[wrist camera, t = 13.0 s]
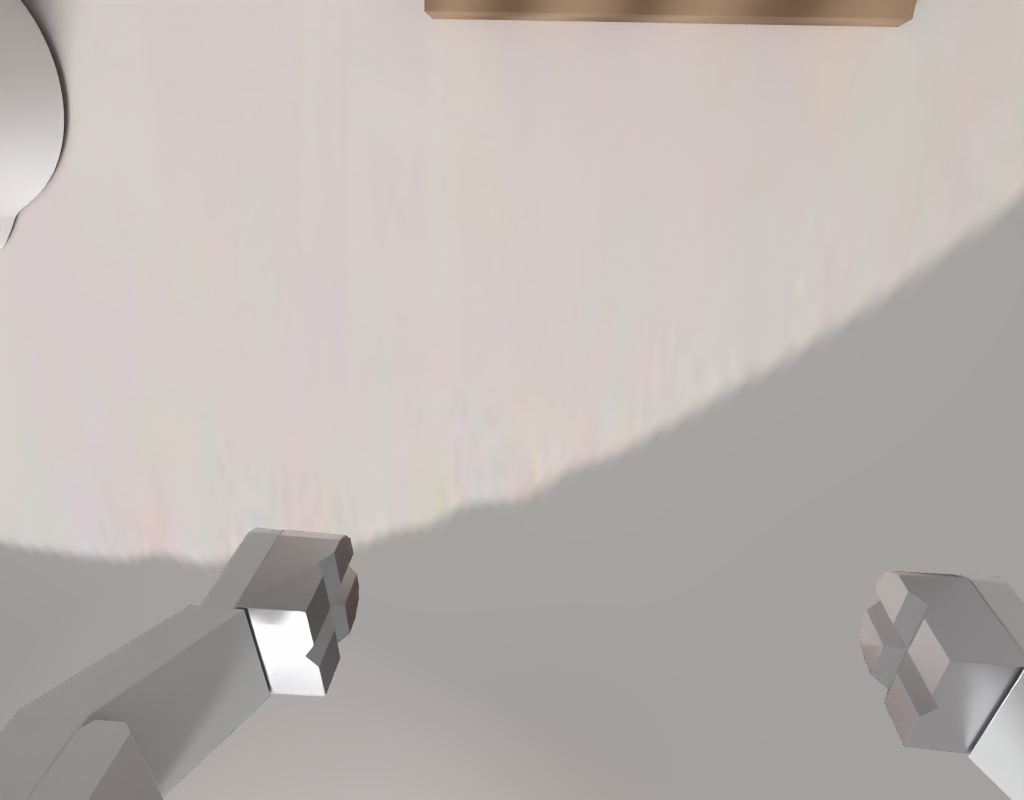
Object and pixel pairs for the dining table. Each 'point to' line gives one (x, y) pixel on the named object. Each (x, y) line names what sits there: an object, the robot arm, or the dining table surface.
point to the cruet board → (684, 11)
